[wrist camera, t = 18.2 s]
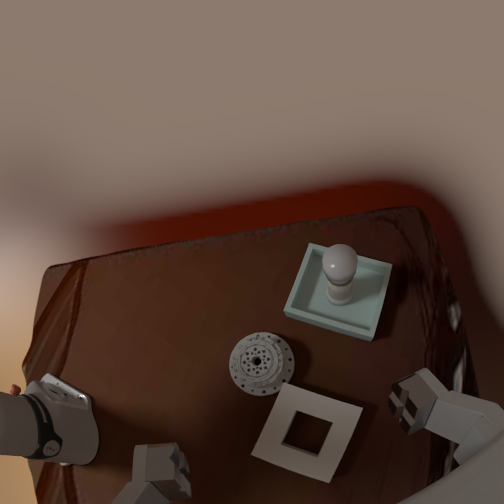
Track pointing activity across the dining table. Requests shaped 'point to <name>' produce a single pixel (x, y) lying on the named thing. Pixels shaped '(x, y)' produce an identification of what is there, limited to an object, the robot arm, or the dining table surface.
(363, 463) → the dining table surface
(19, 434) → the robot arm
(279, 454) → the grey square frame
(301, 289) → the parts tray
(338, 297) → the grey peg
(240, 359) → the mechanical component
